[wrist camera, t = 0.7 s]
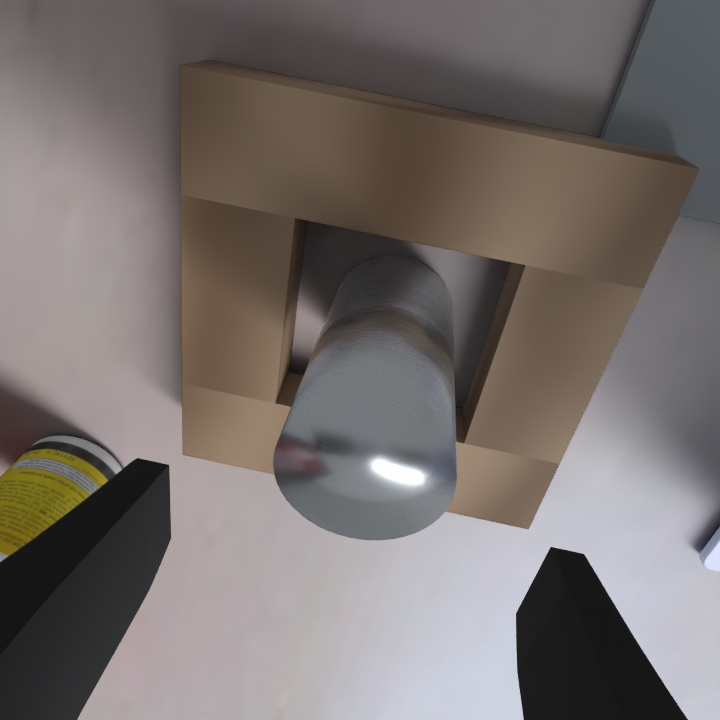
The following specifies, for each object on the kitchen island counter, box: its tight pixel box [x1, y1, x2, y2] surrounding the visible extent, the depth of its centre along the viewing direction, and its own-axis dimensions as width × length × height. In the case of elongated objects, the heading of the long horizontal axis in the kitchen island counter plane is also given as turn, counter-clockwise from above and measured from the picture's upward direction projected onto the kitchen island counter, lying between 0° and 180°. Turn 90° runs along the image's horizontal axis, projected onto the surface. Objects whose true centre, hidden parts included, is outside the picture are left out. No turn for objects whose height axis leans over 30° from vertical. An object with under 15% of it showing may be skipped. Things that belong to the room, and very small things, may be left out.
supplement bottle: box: [0, 435, 122, 562], centre depth 22 cm, size 5×5×8 cm
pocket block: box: [180, 60, 700, 529], centre depth 18 cm, size 13×13×2 cm
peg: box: [273, 256, 457, 540], centre depth 16 cm, size 4×4×8 cm
